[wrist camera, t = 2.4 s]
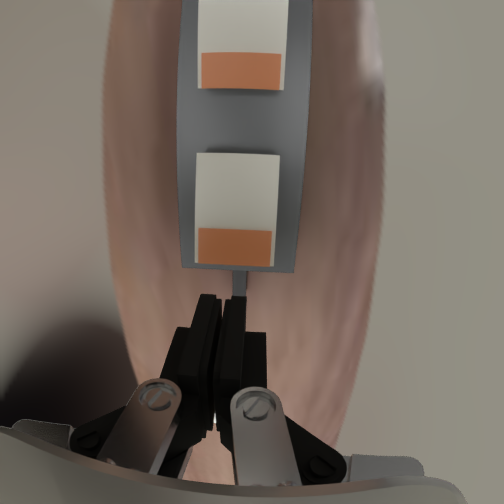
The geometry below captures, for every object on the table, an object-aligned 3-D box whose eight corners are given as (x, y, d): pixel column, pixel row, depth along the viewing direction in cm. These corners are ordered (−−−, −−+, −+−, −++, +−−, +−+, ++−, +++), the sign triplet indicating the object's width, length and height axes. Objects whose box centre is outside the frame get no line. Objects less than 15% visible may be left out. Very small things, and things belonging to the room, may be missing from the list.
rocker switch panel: (198, -1, 14) (181, -28, 10) (303, 1, 14) (315, -27, 10) (196, 286, 24) (184, 324, 20) (283, 290, 24) (287, 330, 20)
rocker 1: (204, -12, 10) (198, -17, 9) (287, -11, 10) (289, -17, 9) (203, 85, 14) (197, 88, 12) (281, 86, 14) (283, 90, 12)
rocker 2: (201, 154, 15) (196, 152, 14) (278, 157, 15) (280, 155, 14) (199, 255, 17) (194, 263, 15) (272, 259, 17) (273, 267, 15)
